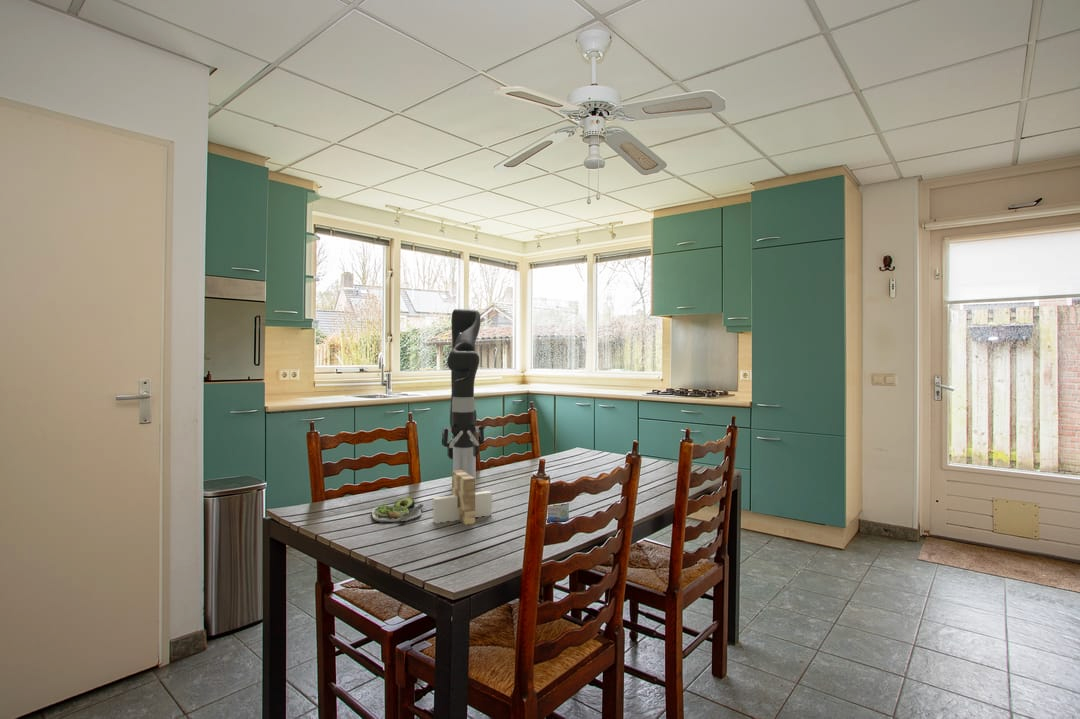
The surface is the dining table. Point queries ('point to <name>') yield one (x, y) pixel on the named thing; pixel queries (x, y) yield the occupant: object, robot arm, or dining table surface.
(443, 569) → the dining table surface
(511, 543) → the dining table surface
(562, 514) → the medicine box
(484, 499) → the slotted board
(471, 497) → the tan thick flat block
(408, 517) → the salad plate
